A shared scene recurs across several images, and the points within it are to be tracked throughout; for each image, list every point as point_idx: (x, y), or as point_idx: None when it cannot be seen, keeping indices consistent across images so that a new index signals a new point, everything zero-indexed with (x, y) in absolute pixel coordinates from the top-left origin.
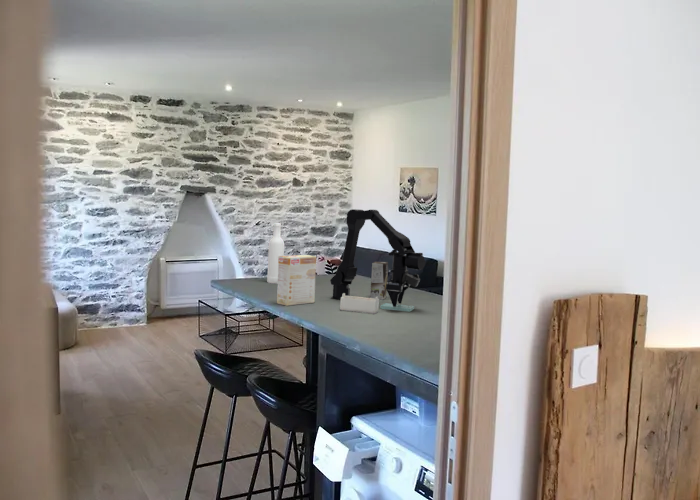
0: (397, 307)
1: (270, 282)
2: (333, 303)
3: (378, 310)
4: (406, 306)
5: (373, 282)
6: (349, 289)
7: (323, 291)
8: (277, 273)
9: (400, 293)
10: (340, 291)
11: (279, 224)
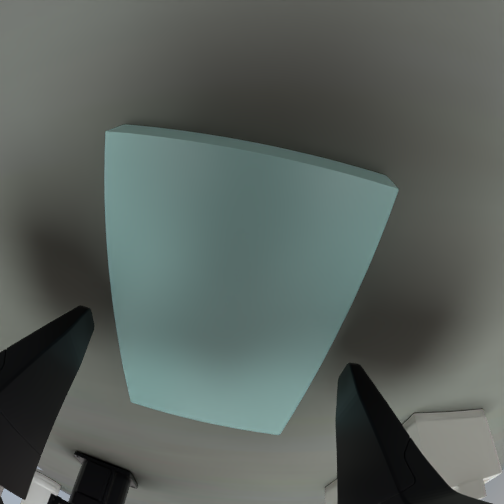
0: (332, 342)
1: (60, 486)
2: (232, 497)
3: (415, 418)
4: (196, 241)
5: None
6: (82, 489)
7: (44, 457)
8: (47, 496)
9: (28, 406)
10: (121, 501)
11: None
